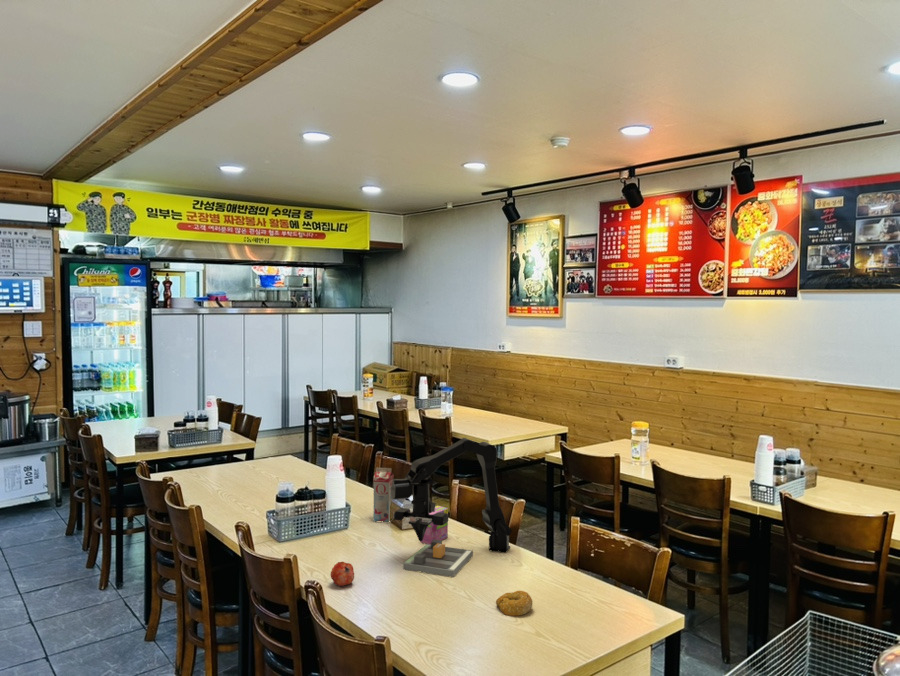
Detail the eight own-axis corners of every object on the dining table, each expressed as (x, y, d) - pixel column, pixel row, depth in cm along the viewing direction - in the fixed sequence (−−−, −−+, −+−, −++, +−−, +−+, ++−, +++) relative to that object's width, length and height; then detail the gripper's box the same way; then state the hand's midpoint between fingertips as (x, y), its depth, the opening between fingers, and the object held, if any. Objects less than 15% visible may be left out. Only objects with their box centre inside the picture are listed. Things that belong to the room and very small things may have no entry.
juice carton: (388, 522, 264) (389, 470, 263) (373, 521, 265) (373, 469, 264) (393, 518, 270) (393, 466, 269) (378, 517, 271) (378, 465, 271)
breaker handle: (445, 554, 222) (445, 544, 222) (441, 558, 219) (441, 547, 218) (437, 553, 223) (437, 542, 223) (432, 557, 220) (433, 546, 219)
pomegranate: (327, 591, 203) (335, 581, 195) (326, 568, 207) (334, 557, 200) (350, 590, 206) (358, 580, 198) (348, 567, 210) (357, 556, 203)
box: (431, 545, 237) (431, 514, 237) (419, 542, 241) (419, 511, 240) (448, 538, 246) (448, 507, 245) (436, 535, 249) (436, 505, 249)
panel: (472, 556, 227) (472, 543, 227) (453, 577, 208) (453, 563, 208) (426, 549, 234) (426, 537, 233) (403, 569, 215) (403, 556, 215)
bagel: (507, 598, 193) (507, 582, 193) (539, 609, 186) (539, 593, 186) (488, 610, 186) (488, 594, 185) (520, 622, 179) (520, 605, 179)
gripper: (453, 493, 227) (453, 536, 228) (406, 488, 234) (406, 530, 234) (442, 501, 217) (442, 547, 217) (393, 496, 223) (393, 540, 224)
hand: (420, 540), depth 223 cm, fingers closed
